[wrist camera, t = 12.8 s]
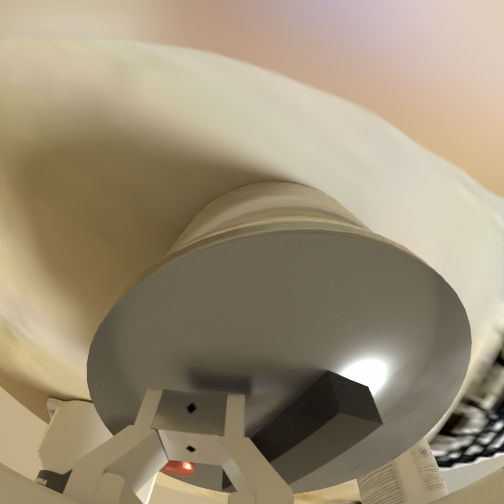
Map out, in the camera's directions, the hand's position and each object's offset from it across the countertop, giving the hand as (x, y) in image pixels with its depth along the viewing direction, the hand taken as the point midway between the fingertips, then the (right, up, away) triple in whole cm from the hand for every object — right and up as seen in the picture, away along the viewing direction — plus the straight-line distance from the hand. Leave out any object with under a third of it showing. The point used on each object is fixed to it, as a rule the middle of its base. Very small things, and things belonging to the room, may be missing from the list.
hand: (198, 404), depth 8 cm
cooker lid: (+3, -2, +3) cm, 5 cm away
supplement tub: (+19, -19, +22) cm, 34 cm away
